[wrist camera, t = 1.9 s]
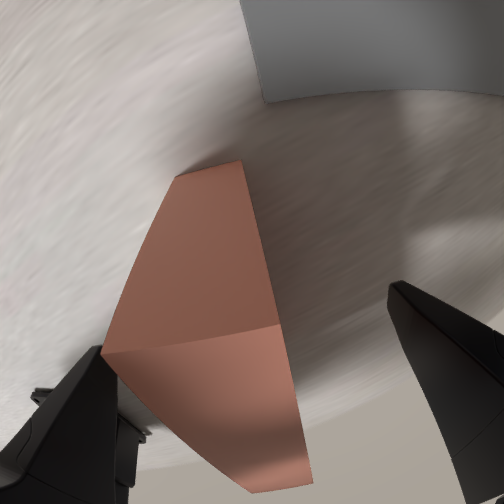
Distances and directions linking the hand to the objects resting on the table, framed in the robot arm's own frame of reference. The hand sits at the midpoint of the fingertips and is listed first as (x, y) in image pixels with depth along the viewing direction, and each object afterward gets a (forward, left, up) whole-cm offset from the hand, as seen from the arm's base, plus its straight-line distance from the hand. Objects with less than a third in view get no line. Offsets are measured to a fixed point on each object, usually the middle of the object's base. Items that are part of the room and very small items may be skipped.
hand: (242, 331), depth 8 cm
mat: (+8, +13, -2) cm, 16 cm away
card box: (0, 0, -3) cm, 3 cm away
